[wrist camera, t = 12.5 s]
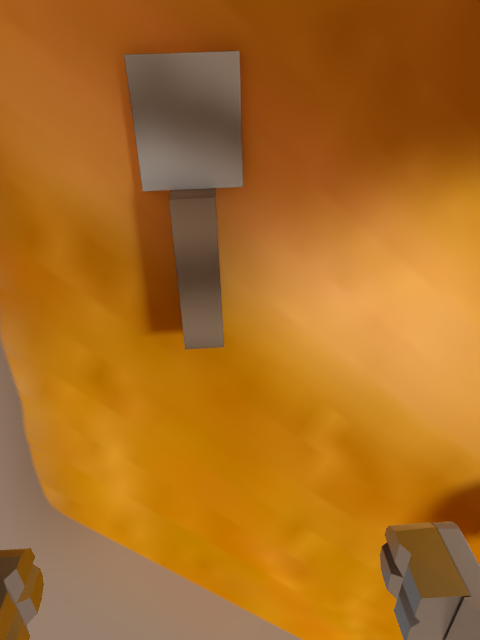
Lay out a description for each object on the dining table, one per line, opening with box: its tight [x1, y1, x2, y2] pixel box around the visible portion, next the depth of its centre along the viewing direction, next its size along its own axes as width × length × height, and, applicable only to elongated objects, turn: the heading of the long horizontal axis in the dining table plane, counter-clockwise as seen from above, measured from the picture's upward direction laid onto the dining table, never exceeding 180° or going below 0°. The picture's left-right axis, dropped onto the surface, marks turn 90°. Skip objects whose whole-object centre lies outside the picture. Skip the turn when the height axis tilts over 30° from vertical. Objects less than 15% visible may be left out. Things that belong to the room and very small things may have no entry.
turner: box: [124, 51, 243, 349], centre depth 27 cm, size 17×6×3 cm, turn 2°
